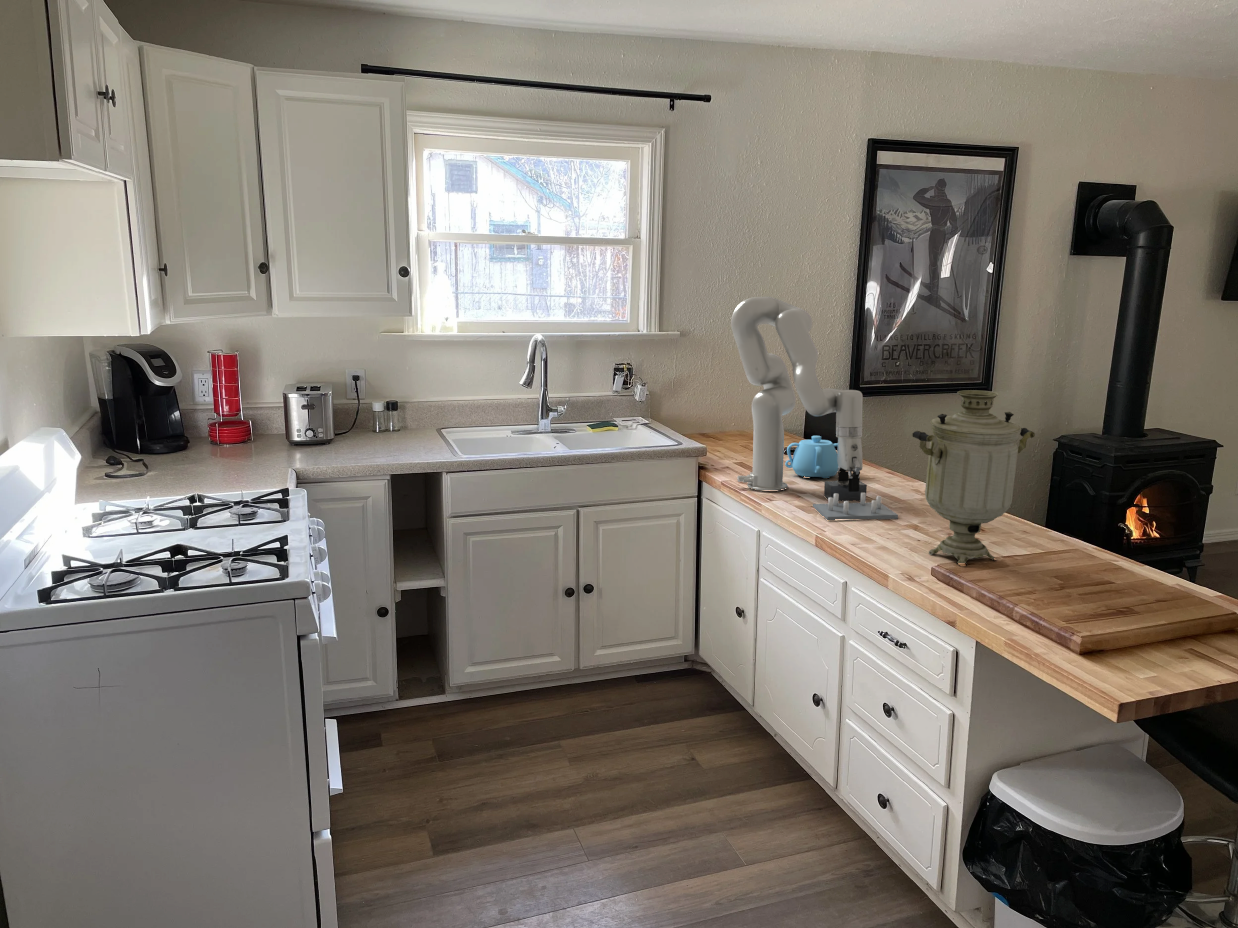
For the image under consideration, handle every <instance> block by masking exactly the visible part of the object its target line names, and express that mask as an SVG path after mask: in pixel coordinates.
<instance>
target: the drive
mask: <svg viewBox="0 0 1238 928" xmlns="http://www.w3.org/2000/svg"><path fill="white" fill-rule="evenodd" d="M823 490H824V491H823V497H824V496H825V497H826V498H827V499H826V498H825V497H824V498H825V499H826V500H828V498H829V497H832V498H834V493H837V494H839V499H838V502H844V501H849V502H854V501H853V500H856V501H859V502H860V499H861V493H866V494H867V490H868V485H867V484H866V483H864V482H863V481H862V480H860V483H859V491H857V492H849V491H848V481H838V480H831V481H830V480H829V481H824V487H823Z"/></svg>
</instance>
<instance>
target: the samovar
mask: <svg viewBox="0 0 1238 928" xmlns="http://www.w3.org/2000/svg"><path fill="white" fill-rule="evenodd" d="M957 394H958V395H959V396H960V397H961V402H960V406H961V407H962V409H963V410H962V411H959V412H956V413H954V414H953V415H948V414H944V413H941V414H938V415H937V416H936V417H934V418H932V419H931V420H930V421H929V423H930V424H931V430H932V434H928V433H926V432H924V431H920V430H914V431H913V432H912V434H911V436H912V437H913V438H915V439H918V441H919V445H918V446H919V449H920V450H921V451H922V452H923V454H925V455H927V456H928V460H927V468H926V479H925V489H924V496H925V500H926V502H927V504H928V506H929V507H930V508H931V509H932V510H934V511H935V512H936V513H937V514H938V515H939V516H940V517H942V518H943V519H946V520H948V521H949V524H948V526H949V527H948V528H949V530H950V531H952V532H953V535H949V536H947V537H946V538H945V539H942V541H940V543H939V544H938V545H937V546H936V547H934V548H931V549H930V550H929V551H928V555H930V556H932V555H934V554H937V553H938V552H940V551H941V552H942V553H943V554H945V555H948V556H950V555H953V556H954V557H955V558H956V559H957V560H958V561H957V562H956V564H957V563H966V564H967V562H968V560H971V559H974V558H975V559H979V558H980V557H981V558H982V557H984V556H986V557H987V558H988V559H991V560H993V559H994V558H996V557H995V556H994V555H992V554H991V553H990V551H989V548H987V546H986V545H985V544H983V543H982V541H981V540H980V539H979V538H976V534H979V533H980V532H981V528H982V527H981V526H982V524H988V523H990V522H992V521H994V520H995V519H997V518H999V517H1002V516H1003V515H1004V514H1005V513H1006V512H1007V511H1008V510H1009V509H1010V507H1011V505H1012V502H1013V494H1014V486H1015V478H1016V477H1015V476H1016V470H1017V463H1018V455H1019V453H1021V452H1022V451H1023V450H1024V449H1026V446H1027V442H1028V439H1030V438H1031V439H1032V438H1033V439H1034V438H1035V435H1036V433H1035V432H1034V431H1031V430H1029V429H1028V428H1026V427H1021V426H1019V425H1018V424H1016V423H1013V422H1011V421H1010V420H1011V419H1012V418H1011V417H1013V416H1015V414H1014V413H1013V412H1011V411H1005V412H1004V415H1005V417H1004V419H1005V420H1003V419H999V417H998V416H996V415H994V414H993V413H990V410H991V409H992V408H993V405H994V401H995V398H997V397H998V396H999V393H998V392H995V391H988V390H977V389H975V390H974V389H973V390H972V389H970V390H969V389H968V390H966V389H965V390H959V391H957ZM1020 436H1021V437H1022V438H1020V439H1019V437H1020ZM1018 439H1019V444H1018V445H1017V441H1018ZM927 442H929V447H927Z"/></svg>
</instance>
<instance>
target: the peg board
mask: <svg viewBox="0 0 1238 928" xmlns="http://www.w3.org/2000/svg"><path fill="white" fill-rule="evenodd" d="M838 499H839V494H837V493H834V498H832V497H829V498H828V499H827V500H828V501H827V502H828V503H812V508H813V507H814V508H815V509H816V510H817V511H818V512H819V513H820V514H821V515H822V516H824V517H825V518H826V519H827V520H835V519H878V520H898V519H899V514H897V513H896V512H894V510H892V509H890V508H889V507H887V506H886V505H885V504H883V503H882V496H881V495H876V497H875V499H873V500H871V502H866V501H867V492H866V493H861V499H860V501H859V502H850V501H843V502H841V503H840V502H839V501H838ZM817 511H816V512H817ZM818 512H817V513H818ZM819 513H818V514H819ZM820 514H819V515H820ZM821 515H820V516H821ZM822 516H821V517H822ZM825 518H824V519H825ZM826 519H825V520H826ZM827 520H826V521H827Z"/></svg>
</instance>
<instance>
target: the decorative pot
mask: <svg viewBox="0 0 1238 928" xmlns="http://www.w3.org/2000/svg"><path fill="white" fill-rule="evenodd" d="M795 446H796V448H795V450H794V453H793V456H792V454H791V448H792V447H795ZM835 447H838V442H837V443H833V442H832V441H831V440H828V439H822V435H821V436H820V435H812V436H811V439H802V440H801V439H800V441H799V442H791V443H790V444H789V445H788V446H787V447H786V453H787V457H788V459H787V460H786V461H785V463H784V465H785V468H788V469H792V470H793V472H794V473H795V474H796V475H797V476H800V477H803V476H805V477H810V478H811V477H812V478H821V479H822V478H830V477H834V476H836V474H838V463H837V450H836V448H835ZM788 463H790V464H788Z"/></svg>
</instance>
